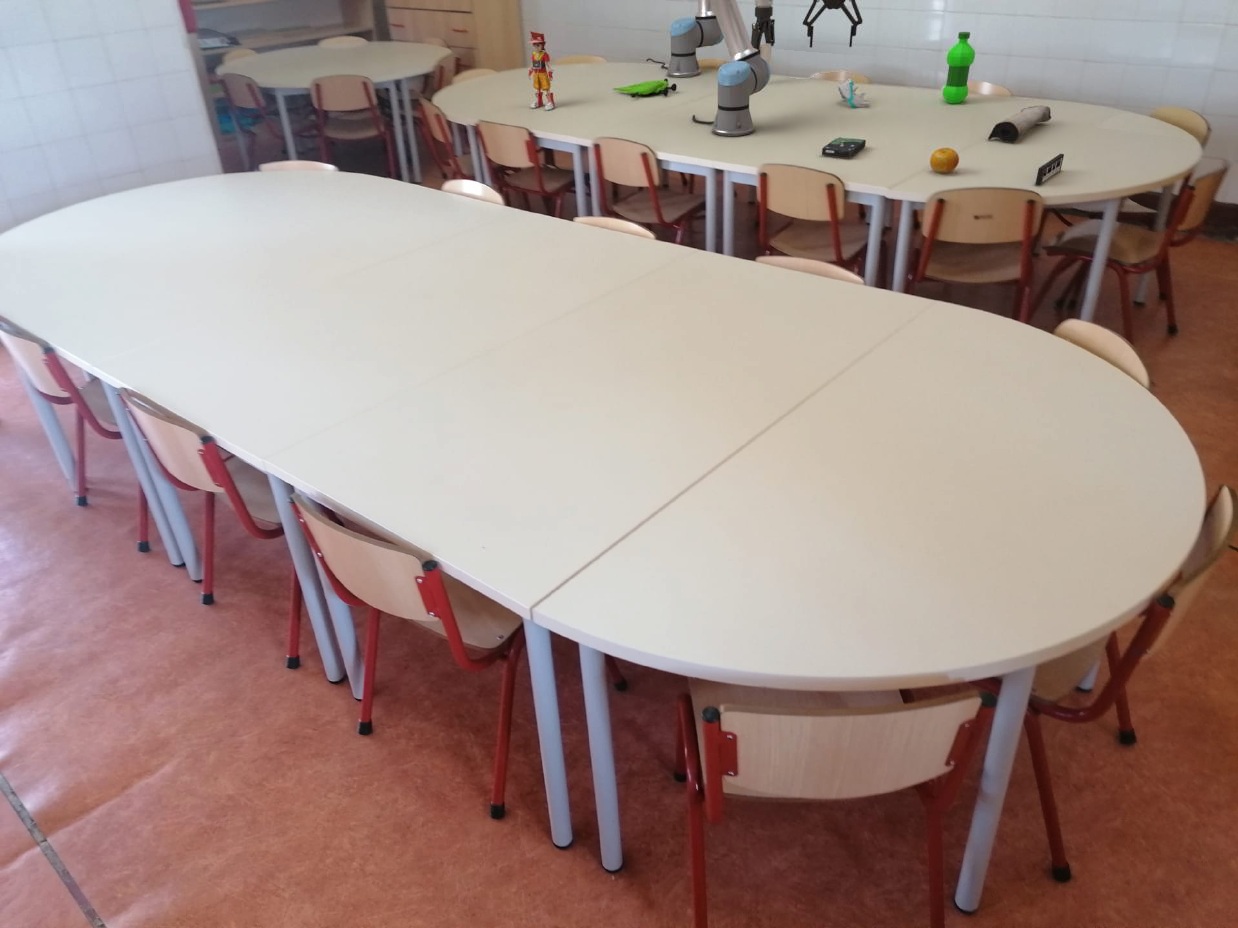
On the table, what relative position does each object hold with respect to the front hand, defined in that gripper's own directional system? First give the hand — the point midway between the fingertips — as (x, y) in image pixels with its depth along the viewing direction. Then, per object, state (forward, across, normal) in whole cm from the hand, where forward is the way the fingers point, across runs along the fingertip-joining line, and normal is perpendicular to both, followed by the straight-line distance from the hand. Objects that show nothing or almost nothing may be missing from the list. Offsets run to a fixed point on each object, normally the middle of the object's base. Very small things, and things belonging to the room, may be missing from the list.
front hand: (830, 47), depth 315 cm
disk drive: (+29, -8, +28) cm, 40 cm away
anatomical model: (+29, -9, -40) cm, 50 cm away
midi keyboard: (+29, -70, +51) cm, 92 cm away
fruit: (+29, -40, +47) cm, 68 cm away
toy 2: (+29, +83, -60) cm, 106 cm away
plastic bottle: (+29, -48, -44) cm, 71 cm away
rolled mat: (+29, -68, 0) cm, 73 cm away
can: (+22, +31, -74) cm, 83 cm away
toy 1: (+29, +120, -32) cm, 127 cm away
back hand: (+20, +31, -74) cm, 83 cm away
